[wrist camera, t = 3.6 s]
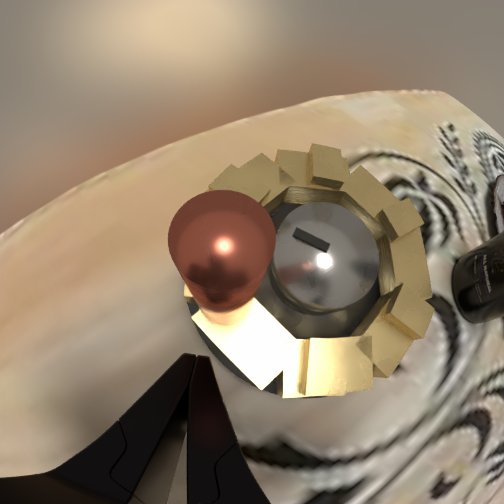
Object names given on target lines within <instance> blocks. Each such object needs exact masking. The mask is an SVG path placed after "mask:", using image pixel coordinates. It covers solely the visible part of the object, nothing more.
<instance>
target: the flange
mask: <svg viewBox="0 0 504 504" xmlns="http://www.w3.org/2000/svg"><path fill="white" fill-rule="evenodd" d="M269 215H270V217H271V219H272V221H273V224H274V227H275V232H276V245H275V251H274V253H273V256H272V259H271V261H270V263H269V266H268V268H267V270H266V272H265V275H264V277H263V279H262V281H261V283H260V286H259V288H258V290H257V292H256V295H255V297H254V298H255V299H256V300H257V301H258V302H259V303H260V304H261V305H262V306H263V307H264V308H265V309H266V310H267V311H268V312H269V313H270V314H271V315H272V316H273V317H274V318H275V319H276V320H277V321H278V322H279V323H280V324H281V325H282V326H283V327H284V328H285V329H286V330H287V331H288V332H289V333H290V334H291V335H292V336H293V337H294V338H295V339H307V338H342V337H349V336H350V335H351V334H352V333H353V331H354V330H355V329H356V328H357V326H358V325H359V324H360V323H361V321H362V320H363V319H364V317H365V316H366V315H367V314H368V312H369V311H370V310H371V308H372V307H373V306H374V304H375V303H376V301H377V300H378V299H379V297H380V288H379V280H378V271H379V252H378V248H377V244H376V241H375V239H374V237H373V235H372V233H371V231H370V230H369V228H368V227H367V226H366V224H365V223H364V222H363V221H362V220H361V219H360V218H359V217H358V216H357V215H355V214H354V213H353V212H351V211H350V210H348V209H346V208H344V207H342V206H339V205H337V204H333V203H328V202H313V203H308V204H294V203H283V204H281V205H280V206H279V207H278V208H277V209H275V210H274V211H273V212H272V213H271V214H269ZM184 285H185V282H184ZM187 303H188V301H187ZM188 306H189V309H190V312H191V316H193V315H194V314H195V313H197V312H198V311H199V310H200V308H199V306H198V305H197V304H189V303H188ZM193 321H194V320H193ZM194 323H195V321H194ZM195 325H196V327H197V329H198V331H199V333H200V335H201V337H202V339H203V340H204V341H205V343H206V344H207V346H208V347H209V349H210V350H211V352H212V353H213V354H214V355H215V356H216V357H217V358H218V359H219V360H220V361H221V362H222V364H223V365H225V366H226V367H227V368H228V369H229V370H231V371H232V372H233V373H234V374H236V375H237V376H238V377H240V378H241V379H243V380H245V381H246V382H248V383H250V384H252V385H253V386H255V387H258V386H257V385H256V384H254V383H253V382H252V381H251V380H250V379H249V378H248V377H247V376H246V375H245V374H244V373H243V372H242V371H241V370H240V369H239V368H238V367H237V366H236V365H235V364H234V363H233V362H232V361H231V360H230V359H229V358H228V357H227V356H226V355H225V354H224V353H223V352H222V351H221V350H220V348H219V347H218V346H217V345H216V344H215V343H214V342H213V341H212V340H211V339H210V338H209V337H208V336H207V335H206V334H205V332H204V331H203V330H202V329H201V328H200V327H199V326H198V325H197V324H196V323H195ZM258 388H259V387H258ZM263 390H265V391H268V392H270V393H274V394H277V393H276V377H275V378H274V379H273V380H272V381H271V382H270V383H269V384H268V385H267V386H266V387H264V388H263ZM320 397H326V396H309V397H294V398H320Z"/></svg>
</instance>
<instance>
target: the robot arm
mask: <svg viewBox="0 0 504 504" xmlns="http://www.w3.org/2000/svg"><path fill="white" fill-rule="evenodd" d="M186 431H187V504H271V503H270V501H269V500H268V498H267V497H266V495H265V494H264V492H263V491H262V489H261V488H260V486H259V484H258V483H257V481H256V479H255V478H254V476H253V474H252V472H251V470H250V468H249V466H248V464H247V462H246V460H245V457H244V455H243V453H242V450H241V448H240V445H239V443H238V440H237V437H236V435H235V432H234V429H233V426H232V423H231V421H230V418H229V415H228V412H227V409H226V406H225V403H224V400H223V397H222V394H221V391H220V388H219V385H218V382H217V379H216V375H215V372H214V369H213V366H212V362H211V359H210V357H208V356H201V355H198V356H196V355H194V354H188V353H184V354H182V355H181V356H180V357H179V358H178V359H177V361H176V362H175V363H174V364H173V365H172V366H171V367H170V368H169V369H168V370H167V371H166V372H165V373H164V374H163V375H162V376H161V377H160V378H159V379H158V380H157V381H156V382H155V383H154V384H153V385H152V386H151V387H150V388H149V389H148V390H147V391H146V392H145V393H144V394H143V395H142V396H141V397H140V398H139V399H138V400H137V401H136V402H135V403H134V404H133V405H132V406H131V407H130V408H129V409H128V410H127V411H126V412H125V413H124V414H123V415H122V416H121V417H120V418H119V420H117V421H116V422H115V423H114V424H113V425H112V426H111V427H110V428H109V429H108V430H107V431H106V432H105V433H103V434H102V435H101V436H100V437H99V438H98V439H96V440H95V441H94V442H93V443H91V444H90V445H89V446H87V447H86V448H85V449H83V450H82V451H80V452H79V453H78V454H76V455H75V456H73V457H72V458H70V459H69V460H68V461H66V462H65V463H63V464H62V465H60V466H59V467H57V468H55V469H53V470H51V471H48V472H45V473H41V474H34V475H26V476H17V477H4V478H0V504H166V503H167V499H168V495H169V492H170V488H171V484H172V481H173V477H174V473H175V470H176V466H177V463H178V459H179V456H180V452H181V448H182V445H183V441H184V438H185V434H186Z"/></svg>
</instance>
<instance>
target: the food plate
mask: <svg viewBox="0 0 504 504" xmlns="http://www.w3.org/2000/svg"><path fill="white" fill-rule="evenodd" d="M492 192H493V195H492V196H493V202H494V201H495V204H494V207H493V212H495V214H496V215H497V220H496V221H495V222H496V223H495V225H496V228H497V230H498V233H499V234H500V233H501V232H503V231H504V175H500V176H497V178H496V182H495V186H494V188H493V190H492ZM493 202H491V204H492V203H493Z"/></svg>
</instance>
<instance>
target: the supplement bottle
mask: <svg viewBox="0 0 504 504" xmlns="http://www.w3.org/2000/svg"><path fill="white" fill-rule="evenodd" d="M453 289H454V295H455V299H456V302H457V305H458V307H459V309H460V311H461V313H462V314H463V315H464V316H465V317H466V318H467V319H468V320H469V321H471V322H473V323H482V322H486V321H490V320H494V319H497V318H501V317H504V231H503V232H501V233H500V234H498V235H496V236H495V237H493V238H492V239H490V240H488V241H487V242H485V243H483V244H481V245H480V246H478V247H476V248H475V249H473V250H471V251H469V252H468V253H466V254H464V255H463V256H462V257H461V258H460V259H459V260H458V262H457V264H456V266H455V270H454V275H453Z"/></svg>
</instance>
